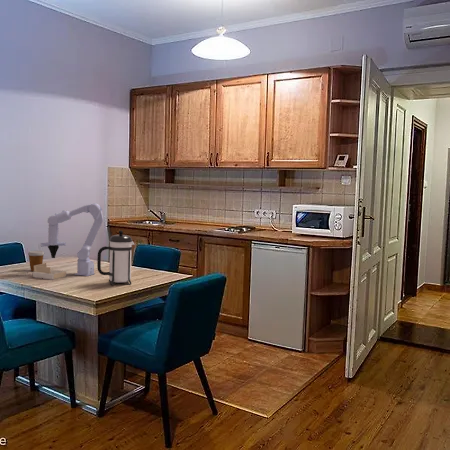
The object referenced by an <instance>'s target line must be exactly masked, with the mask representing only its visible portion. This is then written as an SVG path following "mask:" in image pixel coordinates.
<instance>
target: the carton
mask: <svg viewBox="0 0 450 450" xmlns="http://www.w3.org/2000/svg"><path fill="white" fill-rule="evenodd" d="M50 271H51V273H41V272H34V271H32V278H36V279H42V278H43V280H50V281H51V280H54V281H55V280H58V279H61V278H65V277H67V271H66V270H58V269H50Z"/></svg>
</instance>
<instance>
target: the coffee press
mask: <svg viewBox="0 0 450 450" xmlns="http://www.w3.org/2000/svg"><path fill="white" fill-rule="evenodd" d="M108 242H109V246H107V245H106V246H101V247H100V248H99V249H98V251H97V257H96V258H97V261H96V263H97V265H96V266H97V267H96V268H97V271H98V273H99V274H100V275H101V276H109V278H108V282H109V283H110V285H111V286H114V285H116V283H118V284H120V283H127V285H128V286H130V285H132V281H131V279H132V250H133V246H135V245H136V244H135V243H134V241H133V239H132V237H131V236H130V235H127V234H124V231H123V230H119V231H118V234H114V235H111V236H110V238H109V240H108ZM106 250H109V263H108V264H109V268H108V269H109V271H103V270H102V269H101V267H102V266H101V264H102V263H101V262H102V252H103V251H106Z"/></svg>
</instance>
